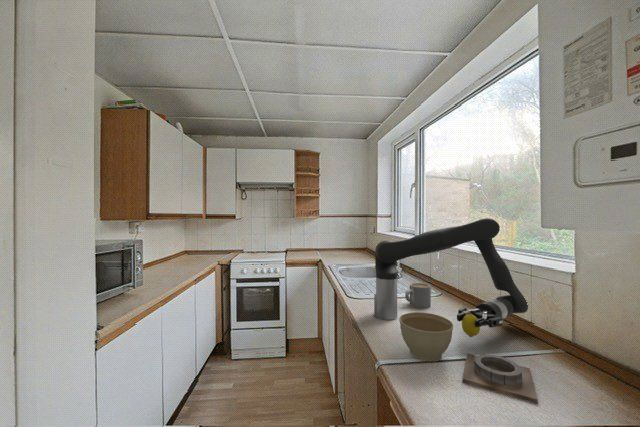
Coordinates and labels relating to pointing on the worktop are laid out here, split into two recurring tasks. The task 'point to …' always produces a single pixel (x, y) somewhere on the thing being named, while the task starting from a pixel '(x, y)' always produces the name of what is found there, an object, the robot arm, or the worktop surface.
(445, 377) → the worktop surface
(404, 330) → the planter bowl
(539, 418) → the worktop surface
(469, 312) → the robot arm
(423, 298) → the coffee mug
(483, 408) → the worktop surface
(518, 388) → the stand
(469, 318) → the lemon
